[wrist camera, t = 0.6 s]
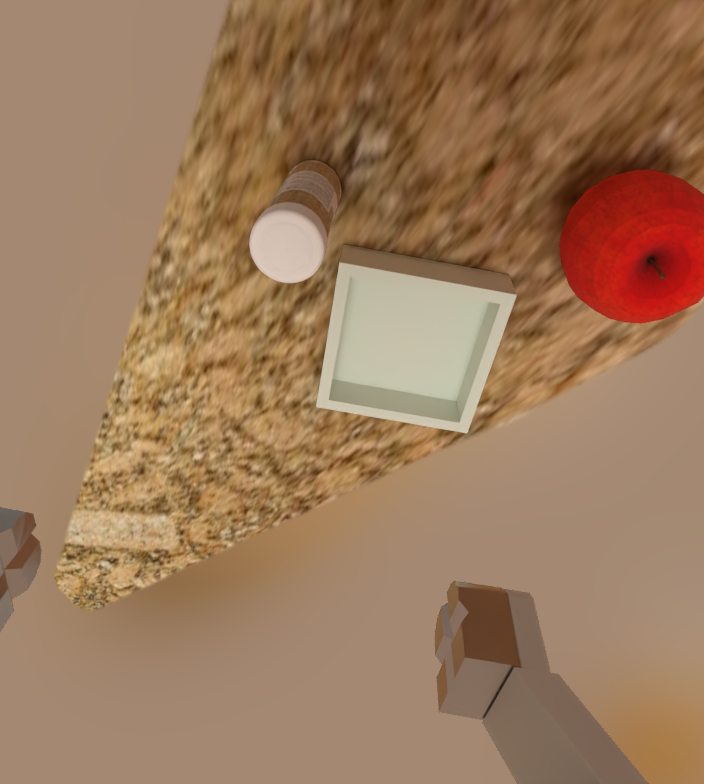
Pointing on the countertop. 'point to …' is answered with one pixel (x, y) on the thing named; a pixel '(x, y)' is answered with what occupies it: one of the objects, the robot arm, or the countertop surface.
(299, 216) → the sprinkles bottle
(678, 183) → the apple
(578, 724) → the robot arm
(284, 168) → the countertop surface
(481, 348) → the bin
